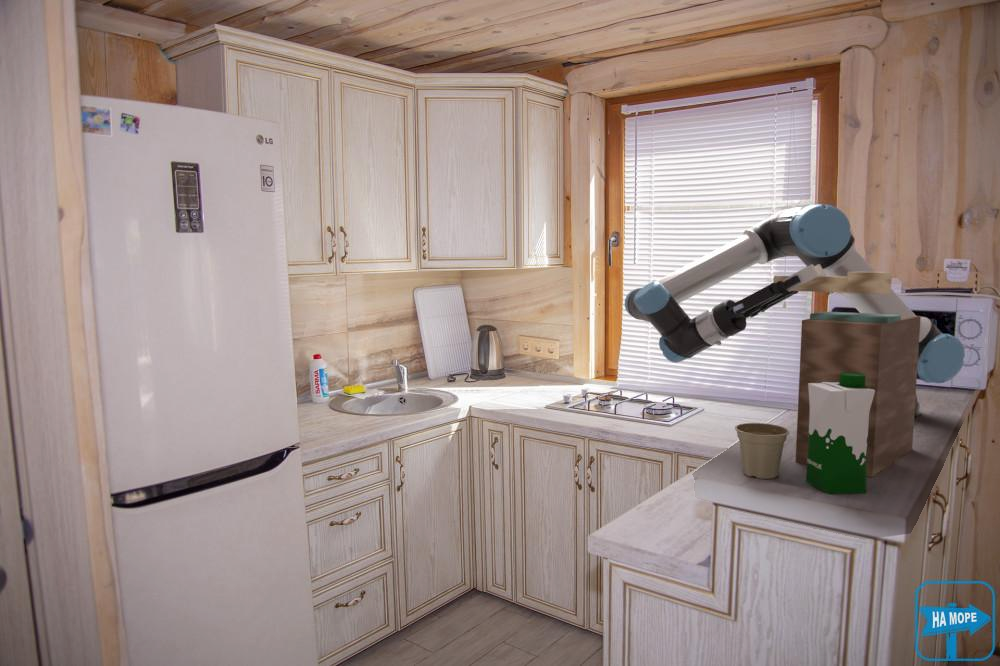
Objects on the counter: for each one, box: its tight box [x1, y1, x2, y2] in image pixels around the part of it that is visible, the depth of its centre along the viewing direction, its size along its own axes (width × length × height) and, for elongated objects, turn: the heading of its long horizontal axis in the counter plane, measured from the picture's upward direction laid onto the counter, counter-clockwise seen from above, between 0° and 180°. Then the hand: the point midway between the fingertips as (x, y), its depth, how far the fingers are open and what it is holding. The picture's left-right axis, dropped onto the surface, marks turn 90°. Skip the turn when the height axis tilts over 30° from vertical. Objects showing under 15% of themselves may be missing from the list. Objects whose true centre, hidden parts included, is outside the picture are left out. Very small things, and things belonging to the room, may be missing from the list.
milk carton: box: [805, 372, 875, 495], centre depth 123 cm, size 9×9×20 cm
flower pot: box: [734, 422, 790, 480], centre depth 131 cm, size 9×9×9 cm
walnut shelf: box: [795, 311, 922, 478], centre depth 143 cm, size 14×26×29 cm, turn 136°
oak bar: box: [772, 271, 893, 294], centre depth 141 cm, size 21×6×4 cm, turn 46°
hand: (818, 270), depth 142 cm, fingers closed on oak bar, 3 cm apart
